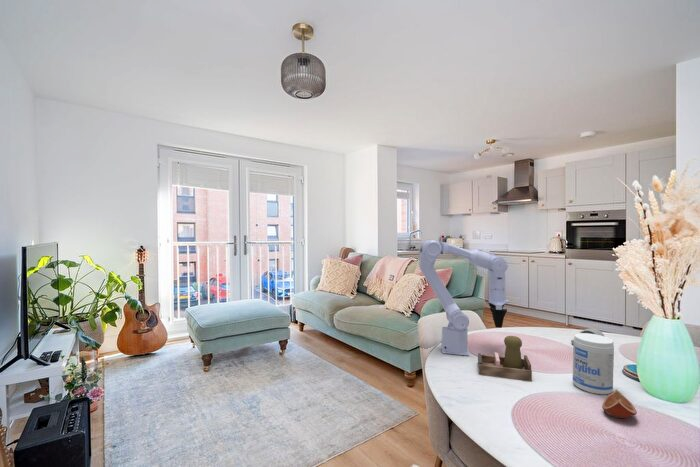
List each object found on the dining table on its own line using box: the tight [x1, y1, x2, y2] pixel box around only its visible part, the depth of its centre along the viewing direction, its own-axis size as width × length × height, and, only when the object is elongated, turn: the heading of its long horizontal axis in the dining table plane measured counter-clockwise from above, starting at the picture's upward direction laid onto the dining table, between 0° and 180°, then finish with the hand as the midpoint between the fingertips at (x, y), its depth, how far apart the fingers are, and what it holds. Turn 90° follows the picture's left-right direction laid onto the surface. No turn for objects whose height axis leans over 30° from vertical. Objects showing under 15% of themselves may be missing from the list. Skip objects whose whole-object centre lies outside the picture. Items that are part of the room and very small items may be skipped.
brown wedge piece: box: [601, 389, 638, 419], centre depth 83 cm, size 8×7×5 cm
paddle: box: [494, 352, 500, 367], centre depth 110 cm, size 1×8×4 cm, turn 161°
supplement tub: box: [572, 332, 615, 395], centre depth 97 cm, size 10×10×15 cm
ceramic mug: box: [570, 327, 606, 346], centre depth 131 cm, size 11×8×8 cm
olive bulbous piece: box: [503, 335, 523, 369], centre depth 108 cm, size 6×6×11 cm
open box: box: [477, 352, 533, 382], centre depth 109 cm, size 15×10×5 cm, turn 71°
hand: (497, 324), depth 126 cm, fingers open, 7 cm apart
